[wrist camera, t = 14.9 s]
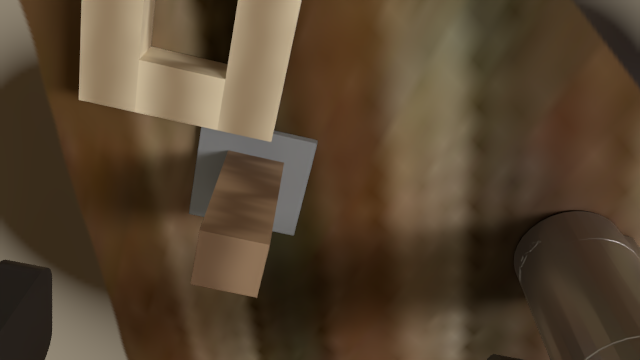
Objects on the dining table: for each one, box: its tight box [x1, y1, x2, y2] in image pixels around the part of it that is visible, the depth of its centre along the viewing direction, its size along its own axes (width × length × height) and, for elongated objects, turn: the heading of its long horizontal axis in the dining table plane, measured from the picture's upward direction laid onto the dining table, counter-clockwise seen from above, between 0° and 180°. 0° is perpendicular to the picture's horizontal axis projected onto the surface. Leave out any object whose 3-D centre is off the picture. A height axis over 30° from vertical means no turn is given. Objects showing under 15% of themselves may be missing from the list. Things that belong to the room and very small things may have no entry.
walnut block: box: [191, 150, 284, 298], centre depth 43 cm, size 4×4×11 cm
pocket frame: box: [79, 0, 302, 142], centre depth 41 cm, size 14×14×3 cm
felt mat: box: [189, 127, 317, 235], centre depth 48 cm, size 9×9×1 cm
